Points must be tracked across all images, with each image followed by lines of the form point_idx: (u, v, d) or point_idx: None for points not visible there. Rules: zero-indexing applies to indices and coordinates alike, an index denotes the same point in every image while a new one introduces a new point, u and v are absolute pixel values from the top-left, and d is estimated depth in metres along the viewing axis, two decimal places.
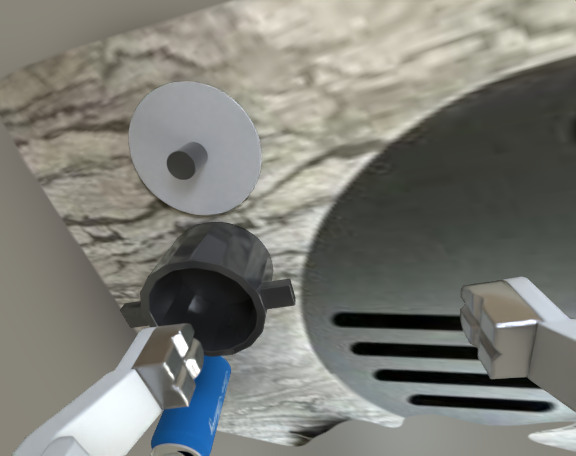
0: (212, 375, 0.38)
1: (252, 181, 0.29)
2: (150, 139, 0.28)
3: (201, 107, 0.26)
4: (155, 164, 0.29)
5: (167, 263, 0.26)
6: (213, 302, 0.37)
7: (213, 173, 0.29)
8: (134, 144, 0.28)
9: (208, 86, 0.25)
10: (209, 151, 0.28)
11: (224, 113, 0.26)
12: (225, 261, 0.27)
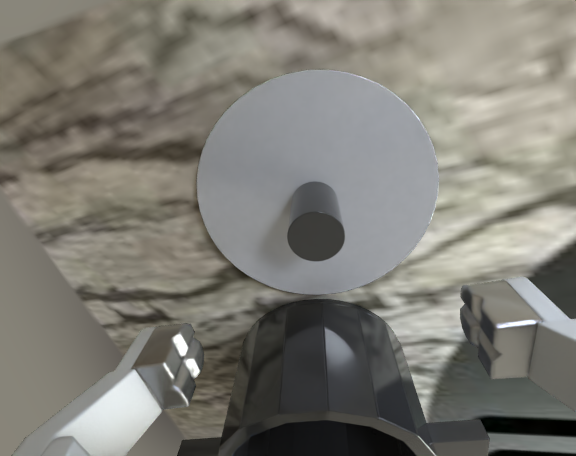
0: None
1: (408, 246, 0.17)
2: (237, 176, 0.15)
3: (343, 119, 0.14)
4: (240, 217, 0.16)
5: (278, 411, 0.14)
6: None
7: None
8: (207, 185, 0.16)
9: (365, 79, 0.13)
10: (341, 197, 0.16)
11: (386, 131, 0.14)
12: (382, 404, 0.15)
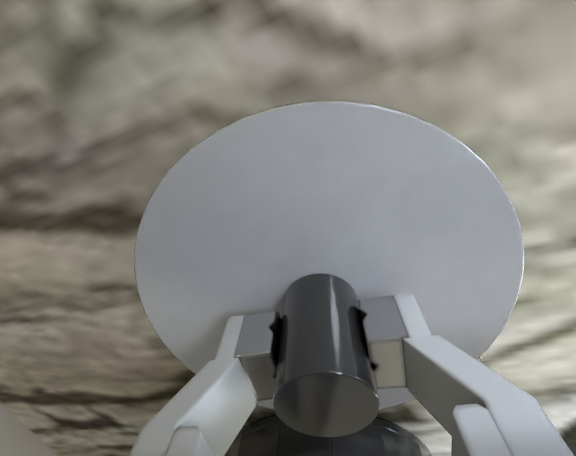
0: None
1: None
2: (197, 264, 0.10)
3: (371, 183, 0.08)
4: (206, 319, 0.11)
5: None
6: None
7: None
8: (151, 275, 0.10)
9: (412, 119, 0.07)
10: (363, 295, 0.10)
11: (442, 202, 0.08)
12: None
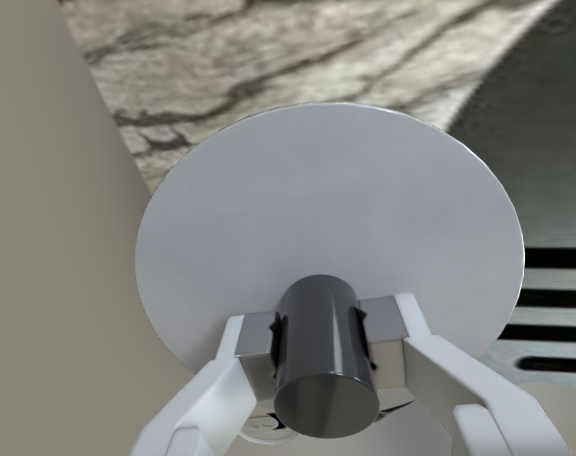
0: None
1: None
2: (198, 265, 0.10)
3: (371, 184, 0.08)
4: (206, 320, 0.11)
5: None
6: None
7: None
8: (151, 276, 0.10)
9: (413, 120, 0.07)
10: (363, 296, 0.10)
11: (442, 203, 0.08)
12: None
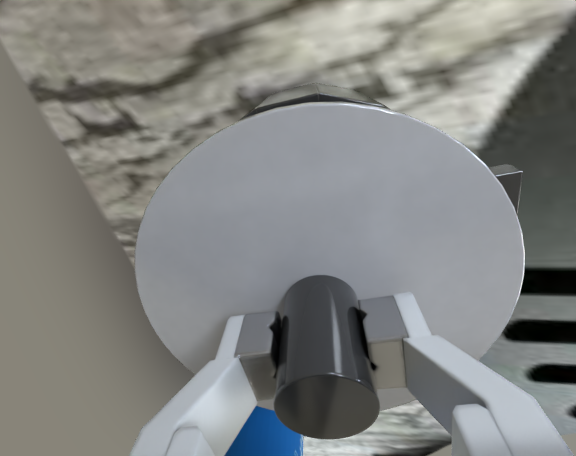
0: None
1: None
2: (198, 266, 0.10)
3: (371, 185, 0.08)
4: (206, 320, 0.11)
5: (255, 109, 0.11)
6: None
7: None
8: (151, 276, 0.10)
9: (413, 121, 0.07)
10: (363, 297, 0.10)
11: (442, 203, 0.08)
12: None
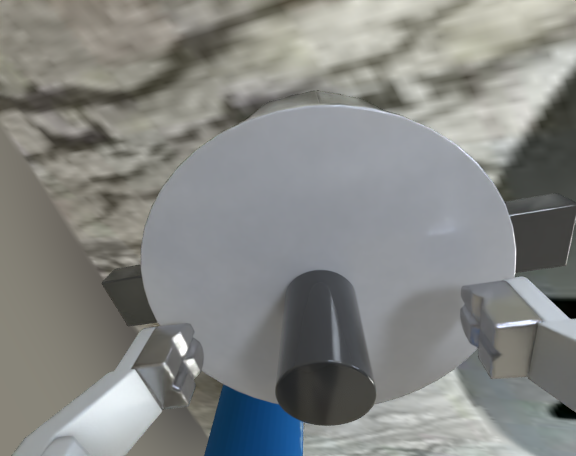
0: (282, 417, 0.20)
1: (459, 356, 0.11)
2: (202, 261, 0.10)
3: (368, 183, 0.08)
4: (210, 315, 0.11)
5: None
6: None
7: None
8: (156, 271, 0.10)
9: (408, 121, 0.08)
10: (361, 291, 0.10)
11: (437, 201, 0.09)
12: None
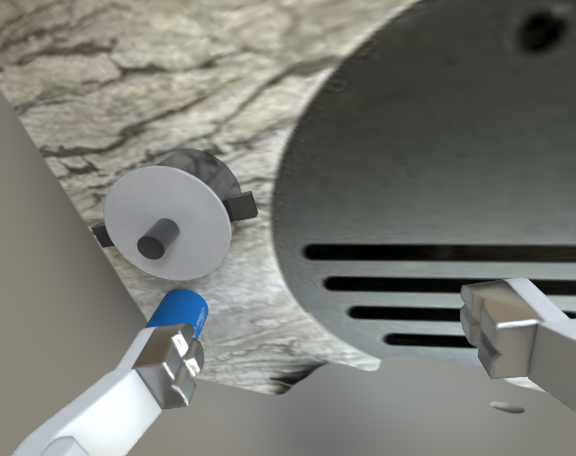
0: (187, 308, 0.39)
1: (223, 251, 0.30)
2: (124, 216, 0.29)
3: (170, 188, 0.28)
4: (130, 237, 0.30)
5: None
6: None
7: (185, 245, 0.30)
8: (109, 220, 0.29)
9: (176, 171, 0.27)
10: (180, 226, 0.29)
11: (192, 194, 0.28)
12: (187, 170, 0.28)
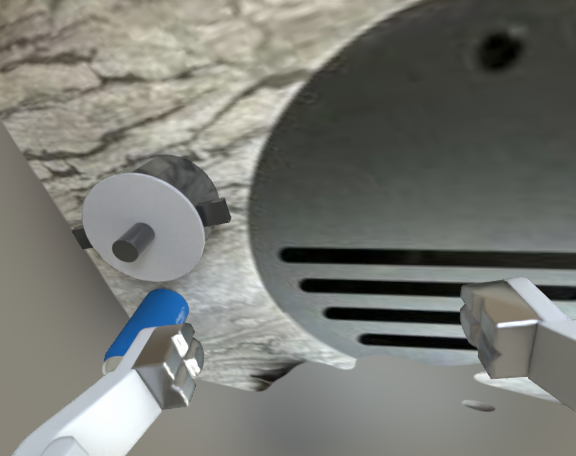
0: (167, 307, 0.41)
1: (197, 255, 0.32)
2: (102, 219, 0.30)
3: (145, 194, 0.29)
4: (108, 240, 0.32)
5: None
6: None
7: (161, 248, 0.32)
8: (87, 223, 0.31)
9: (150, 178, 0.28)
10: (155, 230, 0.31)
11: (166, 200, 0.29)
12: (162, 177, 0.29)
